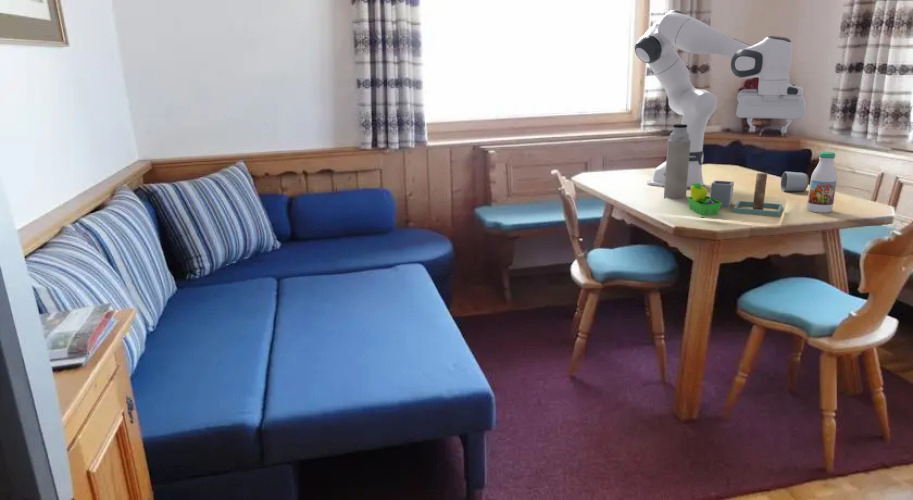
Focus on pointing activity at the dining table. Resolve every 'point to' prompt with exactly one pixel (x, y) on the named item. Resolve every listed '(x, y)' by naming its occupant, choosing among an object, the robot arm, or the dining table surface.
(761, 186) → the dowel pin
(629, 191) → the dining table surface
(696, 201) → the fruit basket
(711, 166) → the dining table surface
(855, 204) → the dining table surface
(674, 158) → the thermos bottle
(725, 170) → the dining table surface
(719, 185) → the pen cup
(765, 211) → the tray
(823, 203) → the milk bottle
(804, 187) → the ceramic mug
